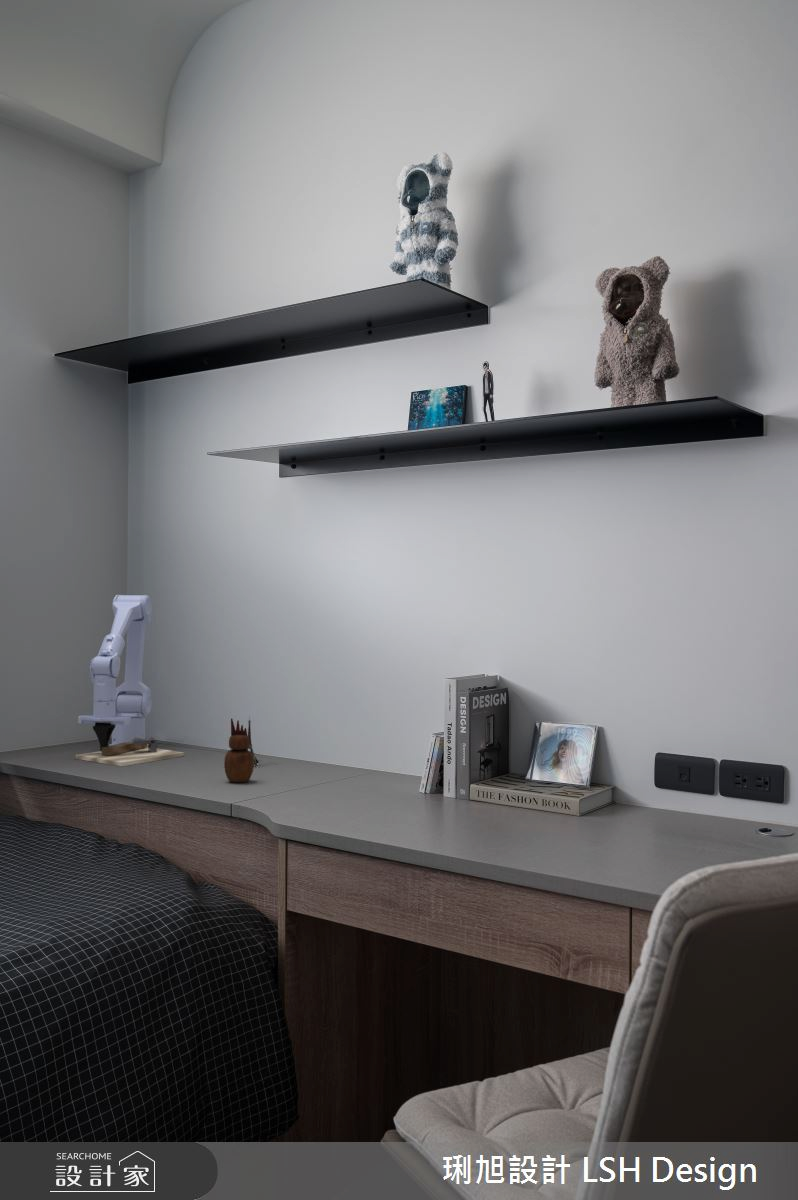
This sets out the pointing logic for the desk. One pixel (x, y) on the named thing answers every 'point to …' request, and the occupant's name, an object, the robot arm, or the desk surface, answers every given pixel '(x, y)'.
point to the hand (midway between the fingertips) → (104, 751)
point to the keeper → (151, 743)
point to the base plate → (130, 757)
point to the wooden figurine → (238, 756)
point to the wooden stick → (122, 747)
